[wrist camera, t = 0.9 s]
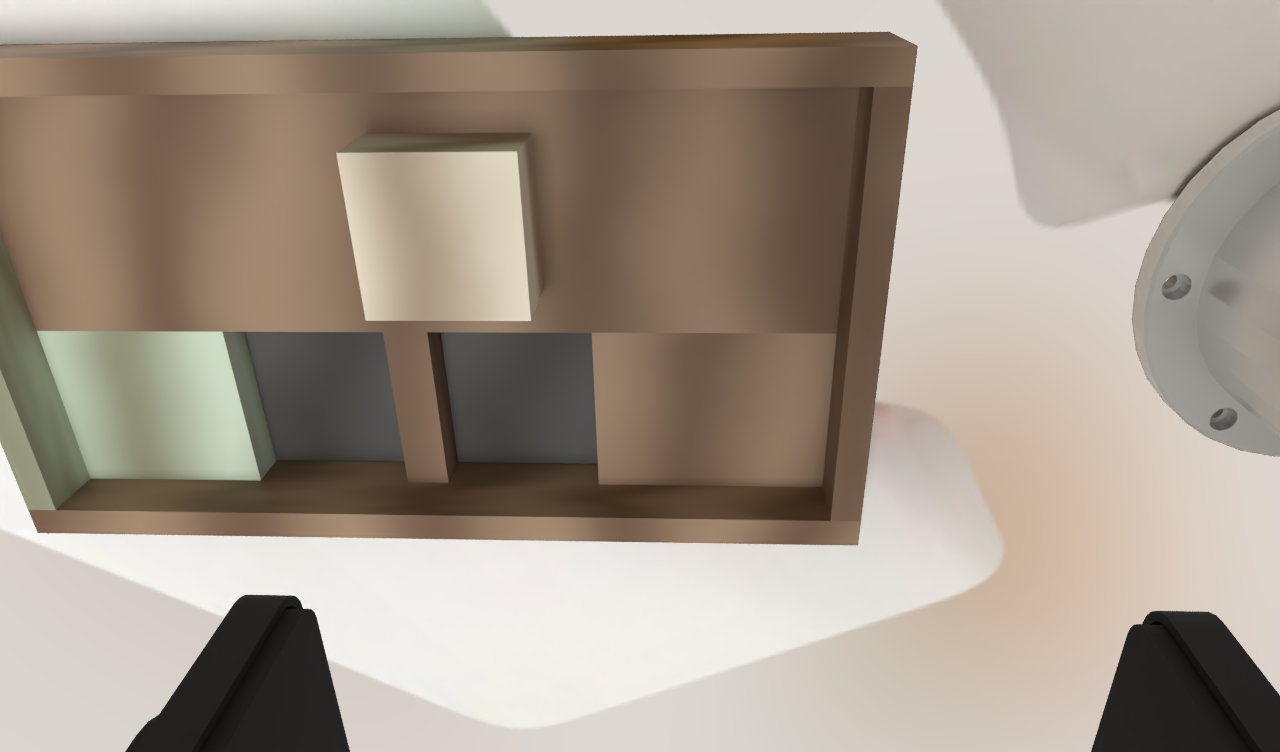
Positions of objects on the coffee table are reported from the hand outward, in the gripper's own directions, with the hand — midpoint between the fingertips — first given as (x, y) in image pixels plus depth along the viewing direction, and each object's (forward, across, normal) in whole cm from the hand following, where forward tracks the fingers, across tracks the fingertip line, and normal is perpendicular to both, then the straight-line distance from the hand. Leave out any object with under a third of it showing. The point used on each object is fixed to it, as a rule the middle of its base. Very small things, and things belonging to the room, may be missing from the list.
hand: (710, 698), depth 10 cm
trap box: (+20, +9, +3) cm, 22 cm away
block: (+19, +7, 0) cm, 20 cm away
